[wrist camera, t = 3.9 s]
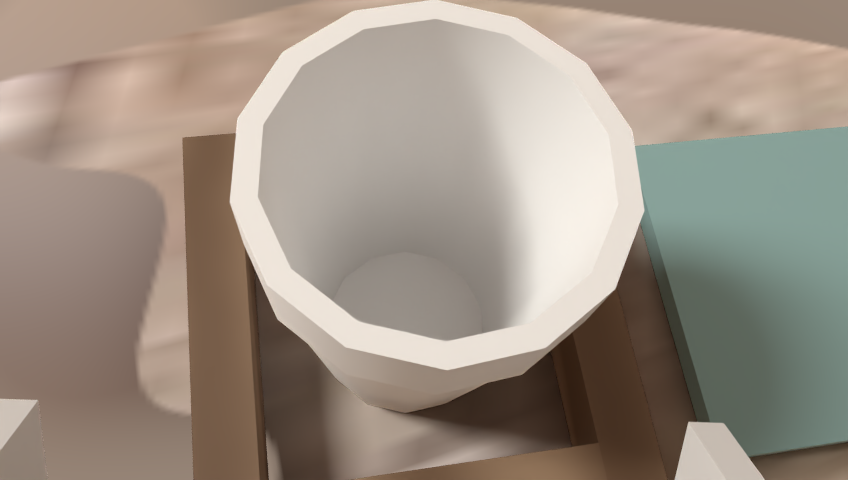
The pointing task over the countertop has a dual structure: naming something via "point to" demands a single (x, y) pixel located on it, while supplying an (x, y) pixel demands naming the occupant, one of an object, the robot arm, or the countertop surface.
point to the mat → (756, 280)
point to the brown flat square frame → (506, 476)
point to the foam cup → (433, 198)
